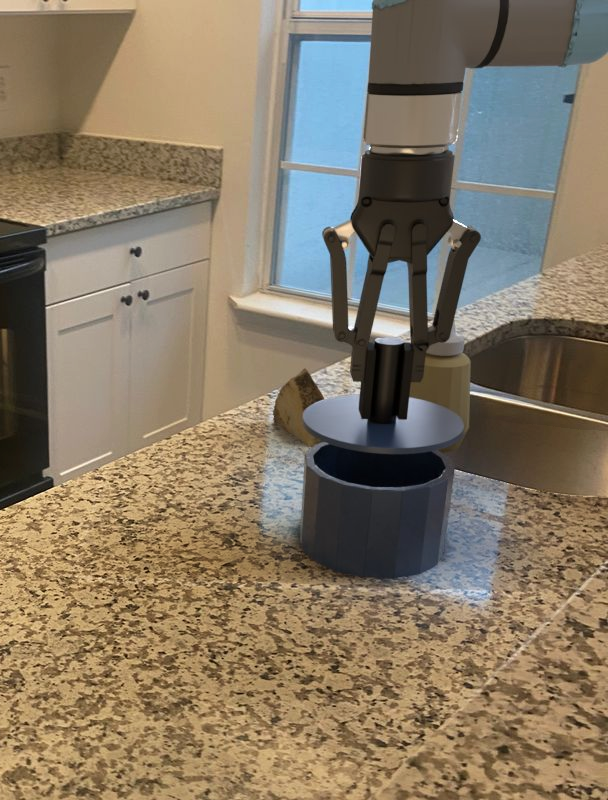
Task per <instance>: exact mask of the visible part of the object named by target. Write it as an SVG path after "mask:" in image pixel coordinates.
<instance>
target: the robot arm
mask: <svg viewBox="0 0 608 800" xmlns="http://www.w3.org/2000/svg"><path fill="white" fill-rule="evenodd" d="M371 10H372V14H371V29H370V30H371V33H370V48H369V63H368V65H369V66H368V67H369V68H368V81H367V88H366V89H367V90H366V92H367V93H366V102H365V113H364V114H365V115H364V124H363V125H364V126H363V135H362V136H363V137H362V142H363V143H365V145H367V146H369V149H367V150H365V151H364V152H363V154H361V157H360V170H359V183H358V195H357V202H356V205H355V207H354V209H353V210H352V211H351V214H350V218H349V220H346V221H344V222H342V223H340V224H338V225H335V226H334V227H333V226H326V227H324V229H323V230H322V232H321V235H322V239H323V242H324V244H325V246H326V248H327V252H328V253H329V261H330V262H329V263H330V264H329V265H330V267H329V268H330V288H331V289H330V290H331V317H332V318H331V319H332V331H333V334H334V338H335V340H336V341H338V342H339V343H345V344H348V345H349V346H351V355H350V368H349V373H350V376H351V380H352V382H354V383H355V382H356V383H357V382H358V383H360V387H359V388H360V389H359V394H360V398H359V412H360V415H361V419H370V412H371V401H372V391H373V380H374V369H375V359H376V349H375V347H374V342H373V341H370V340H371V334H372V331H373V326H374V322H375V317H376V313H377V308H378V304H379V300H380V295H381V291H382V286H383V282H384V278H385V275H386V273H387V269H388V265H389V264H391V263H394V262H398V261H401V262H404V263H406V266H407V275H408V276H407V278H408V308H409V309H408V311H409V337H410V342H409V341H408V342H406V341H404V350H403V360H402V370H401V379H400V389H399V398H398V408H397V417H398V420H407V413H408V404H409V395H410V385H411V382H421V380H422V378H423V375H424V366H425V357H426V351H427V350H428V348H429V346H430V345H432V344H435V343H438V342H441V343H444V342H446V341H448V340H449V338H450V334H451V330H452V326H453V321H455V318H456V314H457V313H456V312H457V308H458V305H459V300H460V296H461V291H462V287H463V283H464V279H465V275H466V270H467V268H468V263H469V259H470V257H471V256H472V254H473V253H474V251H475V250H476V248H477V246H478V245H479V243H480V242H481V239H482V235H481V233H480V232H479V231H478V230H477V229H475V228H474V227H473V226H471V225H464V224H463V223H461V222H458V221H457V220H455V216H454V213H453V211H452V208H451V192H452V183H453V175H454V167H455V166H454V165H455V157H456V155H455V154H453V151H452V150H450V148H449V146H453V144H455V143H456V142H457V141H458V132H459V123H460V114H461V104H462V95H463V90H464V80H465V75H466V69H472V70H473V69H482V68H534V67H559V68H561V69H565V68H567V67H568V66H575V65H576V66H577V65H586V64H587V65H588V64H592V63H595V62H598V61H599V60H601V59H602V58H603V57H605V56H606V55H607V54H608V0H372V2H371ZM354 233H355V234H356V235H357V237H358V238H359V240H360V241H361V243H362V245H363V247H364V248H365V249H366V251H367V252H368V253H369V254H368V258H367V264H366V271H365V276H364V281H363V284H362V290H361V294H360V298H359V303H358V307H357V312H356V317H355V321H354V326H351V325H349V302H348V301H349V300H348V298H349V297H348V296H349V295H348V271H347V270H348V269H347V268H348V267H347V266H348V265H347V256H346V252H345V251H347V250H348V249H350V247H351V244H352V240H351V238H352V235H353V234H354ZM447 233H448V239H447V244H448V246H449V248H450V250H449V252H448V255H447V259H446V262H445V267H444V272H443V277H442V280H441V284H440V290H439V294H438V298H437V302H436V306H435V311H434V316H433V320H432V325H430V326H429V319H428V318H429V317H428V315H429V314H428V277H427V273H428V255H429V254H430V253H431V252H432V250H434V249H435V248H436V246H437V245H438V244H439V242H440V241H441V240H442V239H443V238H444V237H445V236H446V234H447Z"/></svg>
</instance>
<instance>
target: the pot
mask: <svg viewBox="0 0 608 800" xmlns="http://www.w3.org/2000/svg"><path fill="white" fill-rule="evenodd" d="M303 462H304V464H303V478H302V479H303V480H302V494H301V510H300V528H299V542H300V549H301V551H303V552H304V553H305V555H306V556H308V558H310V559H311V560H312V561H313V562H314V563H316V564H318V565H321V566H323V567H325V568H327V569H329V570H331V571H333V572H336V573H341V574H346V575H349V576H355V577H358V578H364V579H395V580H396V579H400V578H401V579H402V578H405V577H411V576H419V575H421V574H422V573H425V572H428V571H429V570H431V569H433V568H435V567H437V566H438V565H439V564H440V561H441V559H442V558H443V556H444V553H445V547H446V539H447V531H448V523H449V515H450V509H451V508H450V507H451V500H452V493H453V485H454V478H455V471H456V469H455V466H454V464H453V462H452V460H451V458H450V456H448V455H447V454H445V453H442V452H440V451H438V450H435V451H430V452H424V453H415V454H377V453H368V452H360V451H355V450H350V449H345V448H341V447H337V446H334V445H331V444H328V443H326V442H322V443H319V444H316V445H314V446H313V447H310V449H308V451H307V452H306V453H305V454H304V461H303Z"/></svg>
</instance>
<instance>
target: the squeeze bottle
mask: <svg viewBox="0 0 608 800" xmlns="http://www.w3.org/2000/svg"><path fill="white" fill-rule="evenodd" d="M465 342H466V338H465V336H463V335H462V334H459V333H457V332H456V322H455V320H454V321H453V326H452V330H451V334H450V338H449V340H448V341H446V342H444V343H441V342H438V343H435V344H432V345H430V346H429V348H428V350H427V351H426V357H425V366H424V375H423V378H422V380H421V382H411V385H410V395H409V397H411V398H416V399H420V400H424V401H428V402H432V403H435V404H438V405H440V406H443V407H445V408H447V409H449V410H451V411H453V412H454V413H456V414H457V415H458V416H459V417H460V418H461V419H462V421H463V423H464V432H463V435H462V437H461V438H460V439H459V440H458V441H457V442H456V443H454V444H452V445H450V446H448V447H445V448H442V449H439V450H438V451H440V452H442V453H443V454H445V453H451V452H454V451H456V450H458V449H459V448H460V446H461V444H462V442H463V441H464V439H465V436H466V434H467V433H468V430H469V429H470V411H471V410H470V407H471V369H472V368H471V367H472V366H471V363H472V362H471V359H470V358H469V357H468V355H467V354H466V353H463V352H464V350H465V344H466V343H465Z"/></svg>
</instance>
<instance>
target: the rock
mask: <svg viewBox="0 0 608 800" xmlns="http://www.w3.org/2000/svg"><path fill="white" fill-rule="evenodd" d="M324 399H325V397H324V395H323V392H322V391H321V390H320V389H319V386H318V385H317V383H316V382H315V380H314V378H313V377H312V375H311V374H310V372H309V370H308V369H307V367H304V368H302V370H301V371H300V372H299V373H297V374H296V375H295V376H293V377H291V378H290V379H289V380H288V381H287V382H286V383H285V384H284V385H283V386H282V387H280V390H279V392H278V394H277V396H276V398H275V401H274V406H273V408H274V409H273V410H272V416H273V417H272V420H273V424H274V425H276V426H278V427H280V428H281V429H283V430H284V431H286V432H288V433H290V434H291V435H292V436H294V437H295V438H296V439H298V440H299V441H301V442H302V443H304V444H305V445H306V446H307V447H308V448H309V447H310V448H312V447H313V446H314V445H316V444H319V443H322V442H323V441H321V440H319V439H317V438H315V437H314V436H312V435H310V434H309V433H308V432H307V431H306V430H305V428H304V427H303V424H302V415H303V413H304V411H305V410H306V408H308V407H309V406H310V405H312V404H314V403H316V402H318V401H321V400H324Z"/></svg>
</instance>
